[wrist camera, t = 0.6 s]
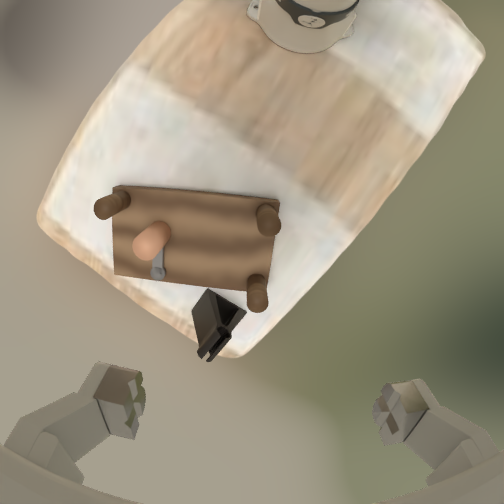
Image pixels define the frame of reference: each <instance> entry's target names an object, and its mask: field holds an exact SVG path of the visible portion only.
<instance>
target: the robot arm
mask: <svg viewBox="0 0 504 504" xmlns="http://www.w3.org/2000/svg"><path fill="white" fill-rule="evenodd" d="M358 2H359V0H252V1H251V3H250V5H249V7H248V10H247V16H248V17H249V18H250V19H252V20H253V21H255V22H256V23H258V24H259V25H260V26H261V28H262V29H263V31H264V32H265V34H266V35H267V36H268V37H269V38H270V39H271V40H272V41H273V42H275V43H276V44H277V45H279V46H281V47H283V48H285V49H287V50H290V51H294V52H298V53H316V52H321V51H324V50H326V49H328V48H330V47H331V46H332V45H333V44H335V43H336V42H337V41H338V40H340V39H343V38H347V37H350V36H351V35H352V34H353V32H354V29H353V24H352V23H353V21H354V20H355V18H356V16H357V14H356V13H355V8H356V6H357V4H358ZM254 7H258V8H257V9H255V8H254ZM142 381H143V377H142V373H141V372H140V371H137V370H132V369H128V368H124V367H119V366H116V365H111V364H107V363H103V362H100V361H99V362H97V363H95V365H94V366H93V368H92V370H91V371H90V373H89V374H88V376H87V378H86V380H85V381H84V383H83V385H82V386H81V388H80V390H79V391H78V393H74V392H73V393H71V394H69V395H67V396H65V397H63V398H61V399H59V400H57V401H55V402H53V403H51V404H49V405H47V406H45V407H42V408H40V409H38V410H36V411H34V412H32V413H30V414H28V415H26V416H23V417H21V418H20V419H19V421H18V422H17V424H16V426H15V427H14V429H13V430H12V432H11V434H10V435H9V437H8V439H7V440H6V442H5V444H4V445H2V444H0V504H142V503H138V502H134V501H130V500H126V499H123V498H120V497H116V496H113V495H109V494H107V493H103V492H100V491H97V490H94V489H92V488H89V487H86V486H84V485H82V483H83V480H84V476H83V474H82V473H81V471H80V470H79V468H78V467H77V466H76V464H75V462H76V461H77V460H79V459H80V458H81V457H83V456H84V455H85V454H87V453H88V452H89V451H91V450H92V449H93V448H95V447H96V446H97V445H98V444H100V443H101V442H102V441H104V440H105V439H106V438H107V437H109V436H110V434H112V435H116V436H120V437H124V438H128V439H133V440H134V439H135V436H136V433H137V430H138V427H139V422H138V417H140V416H141V415H142V414H143V411H144V408H145V401H146V396H145V395H146V394H145V389H144V388H143V387H142V386H141V384H142ZM381 393H382V395H381V396H380V397H379V398H378V399H376V401H375V403H374V405H373V411H372V414H373V419H374V421H375V423H376V424H377V425H378V426H380V430H379V434H380V436H381V438H382V441H383V444H384V445H390V444H396V443H401V442H404V444H405V445H406V446H407V447H409V448H410V449H411V450H412V451H413V452H414V453H415V454H417V455H418V456H419V457H420V458H421V459H423V461H425V462H426V463H427V464H428V465H429V466H430V467H432V468H433V469H434V471H433V472H432V473H431V474H430V475H429V476H428V477H427V479H426V482H427V485H428V487H425V488H423V489H420V490H417V491H414V492H411V493H408V494H405V495H402V496H398V497H395V498H392V499H388V500H384V501H381V502H377V503H373V504H504V450H502V451H501V452H499V450H498V449H497V447H496V446H495V444H494V443H493V441H492V439H491V438H490V436H489V434H488V433H487V431H486V430H484V429H482V428H481V427H479V426H477V425H475V424H474V423H472V422H470V421H468V420H466V419H465V418H463V417H461V416H459V415H458V414H456V413H454V412H452V411H451V410H449V409H447V408H445V407H444V406H443V407H440V405H439V404H438V402H437V400H436V399H435V397H434V396H433V394H432V393H431V391H430V390H429V388H428V387H427V385H426V383H425V382H424V381H423V380H422V379H415V380H409V381H400V382H392V383H386V384H385V385H384V386H383V388H382V390H381Z"/></svg>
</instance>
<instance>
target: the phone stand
mask: <svg viewBox="0 0 504 504" xmlns="http://www.w3.org/2000/svg"><path fill="white" fill-rule="evenodd" d="M246 313H247V312H246V311H245V310H243V309H242V308H240V307H238V306H236V305H235V304H233V303H231V302H230V301H227V300H226V299H225V298H223V297H221V296H220V295H218V294H216V293H215V292H213V291H211V290H210V289H207V290H206V291H205V293H204V294H203V295H202V297H201V298H200V300H199V301H198V302H197V304H196V305H195V307H194V308H193V310H192V316H193V321H194V325H195V330H196V334H197V339H198V343H199V349H198V350H197V353H198V355H199V357H200V358H201V359H202V358H203V357H204V356H205V354H206V353H207V352H208V351H209V353H210V357H209V358H208V359H207V360H206V361H207V362H211V361H212V360H213V359H214V358H215V356H216V355H217V354H218V353H219V352H220V351H221V350H222V348H223V347H224V346H225V345H226V344H227V343H228V341H229V340H230V339H231V338H232V335H231V332H232V330H233V329H234V328H235V327H236V325H237V324H238V323H239V322H240V321H241V319H242V318H243V317H244V316H245V315H246Z"/></svg>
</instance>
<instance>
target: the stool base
mask: <svg viewBox="0 0 504 504" xmlns="http://www.w3.org/2000/svg"><path fill="white" fill-rule="evenodd" d="M279 206H280V202H279V201H278V200H275V199H267V198H259V197H251V196H242V195H233V194H224V193H214V192H204V191H193V190H181V189H169V188H155V187H140V186H123V185H119V186H116V187H113V194H111V195H108V196H106V197H103V198H100V199H98V200H97V201H96V202H95V204H94V212H95V215H96V216H97V217H98V218H99V219H101V220H106V219H108V218H110V217H112V232H113V259H114V275H121V276H127V277H134V278H141V279H148V280H154V279H153V278H152V277H151V274H150V271H151V269H152V260H149V261H145V260H141V259H139V258H138V257H137V256H136V255H135V253H134V251H133V248H132V244H133V241H134V239H135V238H136V237H137V236H138V235H139V234H140V233H141V232H143V231H144V230H145V229H146V228H147V227H149V226H150V225H151V224H152V223H154V222H156V221H162V222H164V223H166V224H167V225H168V226H169V228H170V231H171V236H170V239H169V240H168V242H167V243H166V244H165V245H164V268H165V270H166V275H165V277H164V278H163V279H162V280H160V281H163V282H171V283H178V284H186V285H194V286H203V287H211V288H220V289H229V290H238V291H247V307H248V309H249V310H250V311H252V312H255V313H260V312H263V311H264V310H266V308H267V307H268V296H267V284H268V277H269V271H270V265H271V259H272V252H273V246H274V239H275V235H276V234H278V233H279V231H280V229H281V221H280V219H279V217H278V213H279ZM156 281H157V280H156Z"/></svg>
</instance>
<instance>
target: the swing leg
mask: <svg viewBox="0 0 504 504" xmlns="http://www.w3.org/2000/svg"><path fill="white" fill-rule="evenodd" d="M170 236H171V231H170V228H169V226H168V225H167V224H166V223H164V222H162V221H156V222H154V223H152V224H151V225H150V226H149V227H147V228H146V229H145V230H144V231H143V232H141V233H140V234H139V235H138V236H137V237H136V238H135V239H134V241H133V244H132V248H133V251H134V253H135V255H136V256H137V257H138V258H139V259H141V260H145V261H149V260H152V269H151V271H150V274H151V277H152V278H153V279H154V280H157V281H160V280H162V279H163V278H164V277H165V275H166V270H165V268H164V245H165V244H166V243H167V242H168V240H169V239H170Z"/></svg>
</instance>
